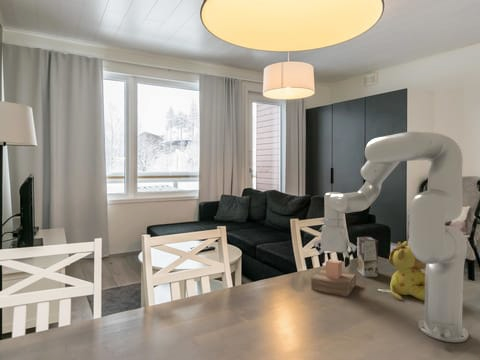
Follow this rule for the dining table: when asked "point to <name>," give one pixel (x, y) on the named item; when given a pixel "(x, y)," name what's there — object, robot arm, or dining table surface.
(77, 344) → the dining table surface
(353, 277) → the walnut base
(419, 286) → the giraffe plush
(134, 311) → the dining table surface
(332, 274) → the terracotta block
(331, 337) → the dining table surface
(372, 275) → the coffee box
